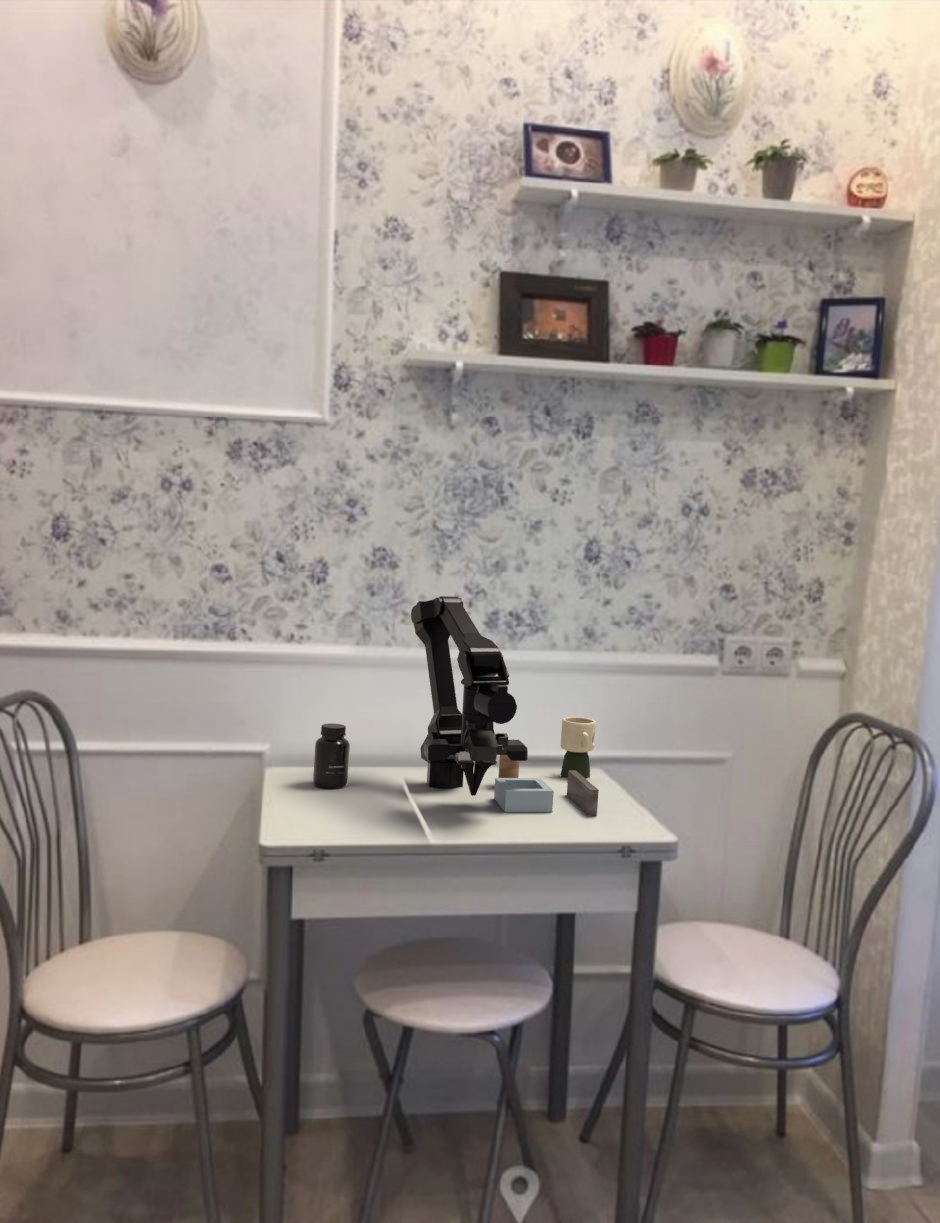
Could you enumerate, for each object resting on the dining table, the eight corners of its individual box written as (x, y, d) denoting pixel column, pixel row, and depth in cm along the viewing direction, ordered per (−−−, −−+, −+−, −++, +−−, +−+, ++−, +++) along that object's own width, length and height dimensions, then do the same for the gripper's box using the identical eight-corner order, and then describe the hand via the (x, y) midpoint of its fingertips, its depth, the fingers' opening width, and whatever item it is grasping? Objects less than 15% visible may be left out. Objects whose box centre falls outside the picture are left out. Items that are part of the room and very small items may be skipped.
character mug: (599, 786, 214) (604, 725, 213) (567, 787, 213) (571, 725, 211) (582, 773, 225) (586, 714, 224) (551, 773, 223) (555, 714, 222)
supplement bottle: (333, 791, 200) (336, 730, 198) (305, 785, 203) (308, 725, 202) (354, 784, 206) (357, 725, 204) (327, 778, 209) (329, 720, 208)
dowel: (500, 794, 204) (503, 745, 203) (495, 789, 208) (498, 740, 207) (519, 794, 205) (522, 745, 204) (514, 789, 209) (517, 740, 208)
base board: (501, 822, 186) (503, 789, 185) (484, 800, 199) (486, 769, 199) (596, 821, 189) (598, 789, 189) (573, 800, 203) (575, 770, 203)
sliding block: (505, 812, 188) (506, 790, 188) (494, 798, 197) (495, 777, 197) (552, 812, 190) (553, 790, 190) (539, 798, 199) (540, 778, 199)
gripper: (435, 721, 180) (430, 808, 182) (538, 722, 184) (532, 807, 186) (425, 708, 191) (420, 790, 193) (522, 710, 195) (517, 790, 196)
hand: (472, 795), depth 191 cm, fingers closed
